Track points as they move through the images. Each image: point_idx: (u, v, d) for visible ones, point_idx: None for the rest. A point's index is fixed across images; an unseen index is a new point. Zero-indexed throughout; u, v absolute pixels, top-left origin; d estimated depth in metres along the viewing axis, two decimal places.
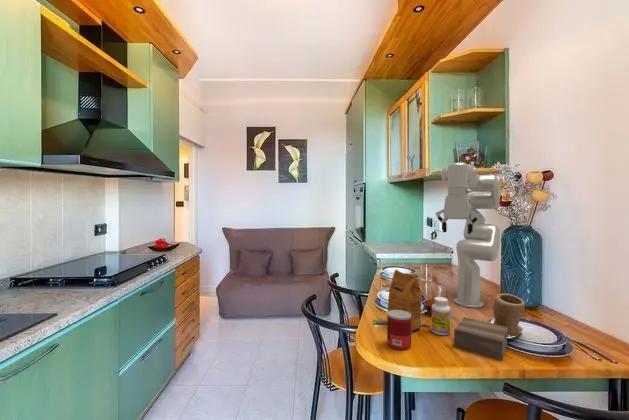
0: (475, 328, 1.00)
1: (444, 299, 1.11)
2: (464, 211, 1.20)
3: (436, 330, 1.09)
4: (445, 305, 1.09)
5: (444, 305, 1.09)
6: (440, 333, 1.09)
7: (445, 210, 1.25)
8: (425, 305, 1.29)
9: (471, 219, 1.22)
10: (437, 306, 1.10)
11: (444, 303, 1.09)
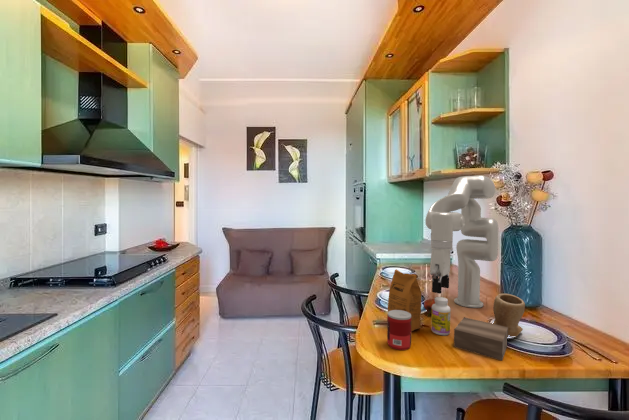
0: (475, 328, 1.00)
1: (444, 299, 1.11)
2: (449, 265, 1.12)
3: (436, 330, 1.09)
4: (445, 305, 1.09)
5: (444, 305, 1.09)
6: (440, 333, 1.09)
7: (443, 267, 1.06)
8: (425, 305, 1.29)
9: None
10: (437, 306, 1.10)
11: (444, 303, 1.09)
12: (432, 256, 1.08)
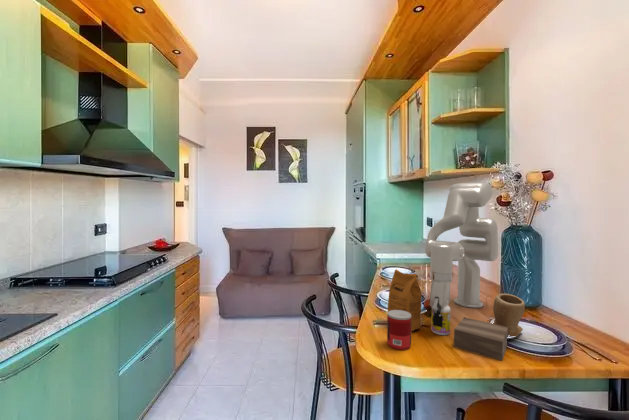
0: (475, 328, 1.00)
1: None
2: (449, 296, 1.12)
3: (436, 330, 1.09)
4: None
5: None
6: (440, 333, 1.09)
7: (443, 300, 1.07)
8: (425, 305, 1.29)
9: None
10: None
11: None
12: (432, 288, 1.09)
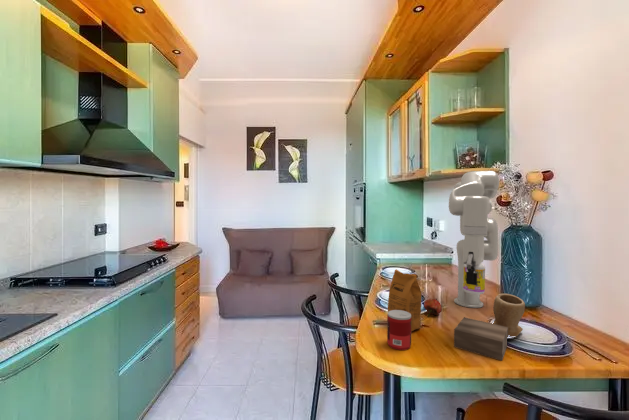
0: (475, 328, 1.00)
1: None
2: (483, 253, 1.03)
3: (469, 289, 1.01)
4: None
5: None
6: (474, 292, 1.00)
7: (478, 255, 0.98)
8: (425, 305, 1.29)
9: None
10: None
11: None
12: (465, 243, 1.00)
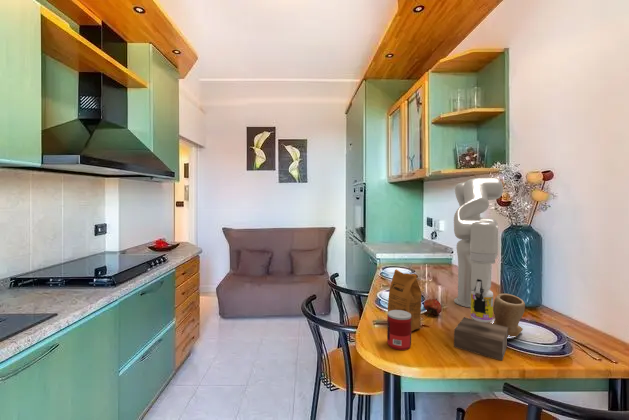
0: (475, 328, 1.00)
1: None
2: None
3: (477, 316, 0.99)
4: None
5: None
6: (482, 320, 0.98)
7: (487, 283, 0.96)
8: (425, 305, 1.29)
9: None
10: None
11: None
12: (473, 270, 0.98)
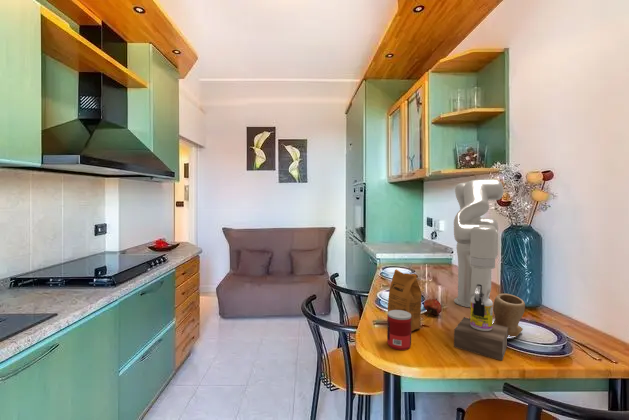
0: None
1: None
2: None
3: (476, 325, 0.99)
4: (487, 298, 0.99)
5: (486, 298, 0.99)
6: (482, 329, 0.98)
7: (487, 288, 0.96)
8: (425, 305, 1.29)
9: None
10: None
11: None
12: (473, 275, 0.98)
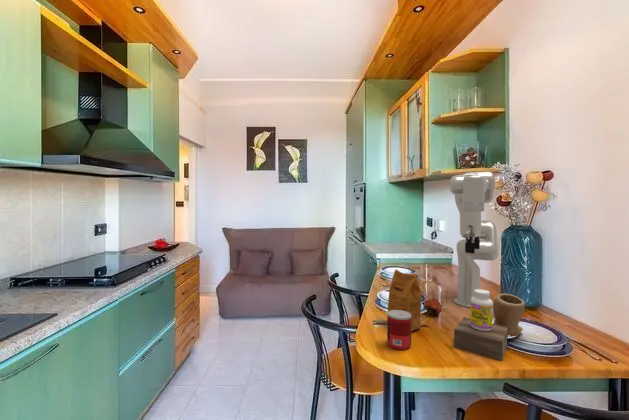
0: None
1: (485, 291, 1.00)
2: (480, 227, 1.16)
3: (476, 325, 0.99)
4: (487, 298, 0.99)
5: (486, 298, 0.99)
6: (482, 329, 0.98)
7: (476, 228, 1.10)
8: (425, 305, 1.29)
9: None
10: (478, 299, 1.00)
11: (486, 296, 0.99)
12: (465, 218, 1.12)
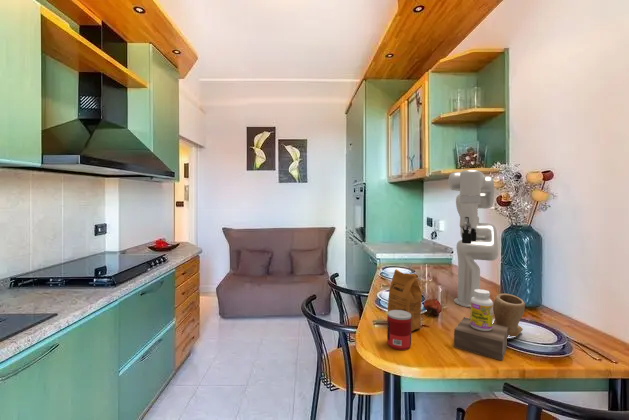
0: None
1: (485, 291, 1.00)
2: (477, 219, 1.21)
3: (476, 325, 0.99)
4: (487, 298, 0.99)
5: (486, 298, 0.99)
6: (482, 329, 0.98)
7: (473, 219, 1.15)
8: (425, 305, 1.29)
9: None
10: (478, 299, 1.00)
11: (486, 296, 0.99)
12: (462, 210, 1.17)
